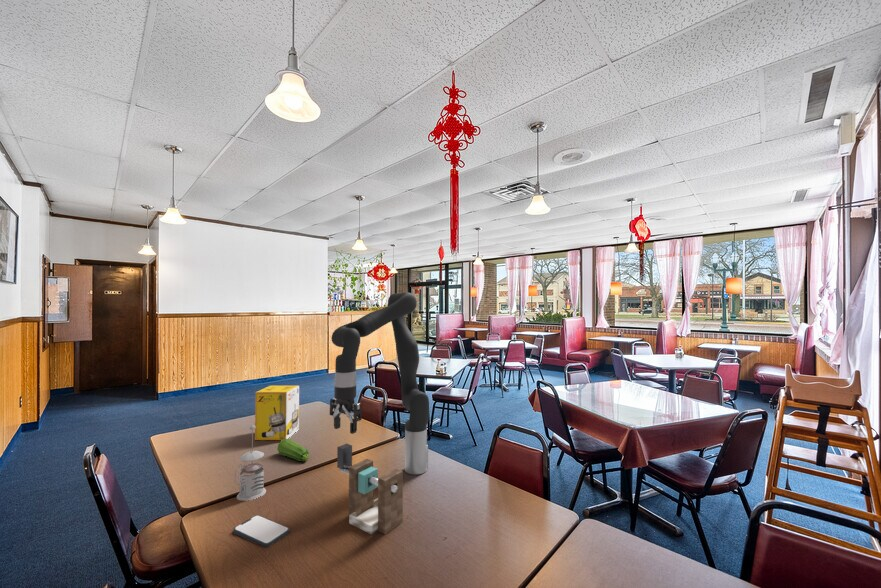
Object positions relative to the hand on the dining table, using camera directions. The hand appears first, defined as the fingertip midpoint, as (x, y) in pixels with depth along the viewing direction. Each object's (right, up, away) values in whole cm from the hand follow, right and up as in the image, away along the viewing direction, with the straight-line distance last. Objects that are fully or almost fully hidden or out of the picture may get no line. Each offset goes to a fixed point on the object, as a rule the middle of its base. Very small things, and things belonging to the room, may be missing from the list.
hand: (345, 430), depth 128 cm
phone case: (-21, -26, -16) cm, 37 cm away
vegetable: (-33, -27, +39) cm, 58 cm away
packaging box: (-54, -28, +67) cm, 90 cm away
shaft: (+9, -14, -7) cm, 18 cm away
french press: (-36, -26, +5) cm, 45 cm away
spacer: (+10, -17, -8) cm, 21 cm away
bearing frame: (+12, -25, -9) cm, 29 cm away
